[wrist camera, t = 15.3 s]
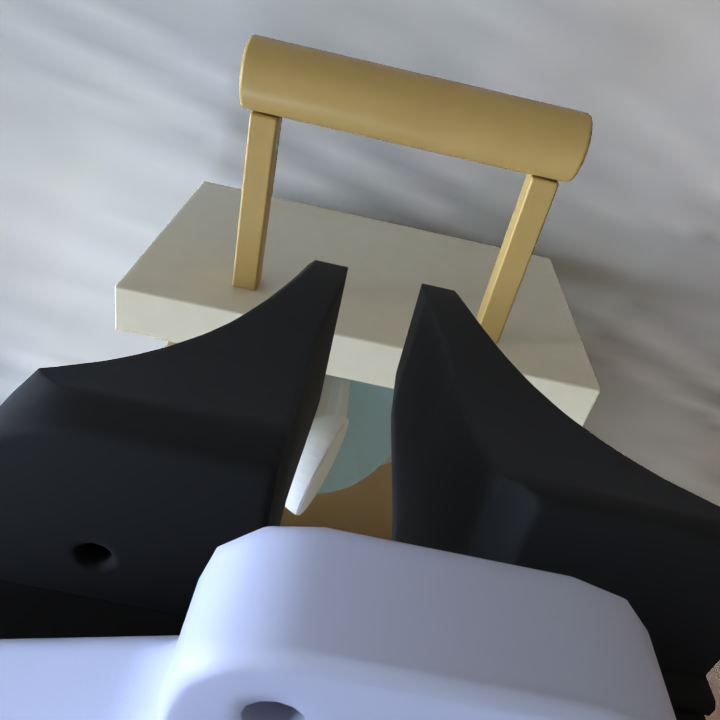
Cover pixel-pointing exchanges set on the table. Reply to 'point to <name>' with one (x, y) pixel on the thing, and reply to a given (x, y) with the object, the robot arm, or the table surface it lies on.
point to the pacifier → (343, 440)
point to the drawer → (372, 239)
